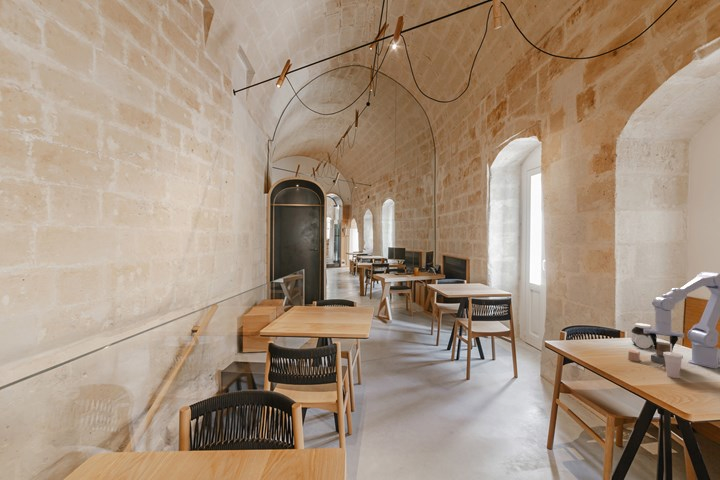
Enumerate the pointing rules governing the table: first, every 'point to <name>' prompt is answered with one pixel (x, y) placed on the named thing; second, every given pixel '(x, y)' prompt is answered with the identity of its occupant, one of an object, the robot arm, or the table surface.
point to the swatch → (652, 363)
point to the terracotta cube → (634, 355)
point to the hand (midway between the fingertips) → (663, 350)
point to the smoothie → (672, 363)
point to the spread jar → (641, 336)
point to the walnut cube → (662, 347)
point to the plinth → (658, 358)
